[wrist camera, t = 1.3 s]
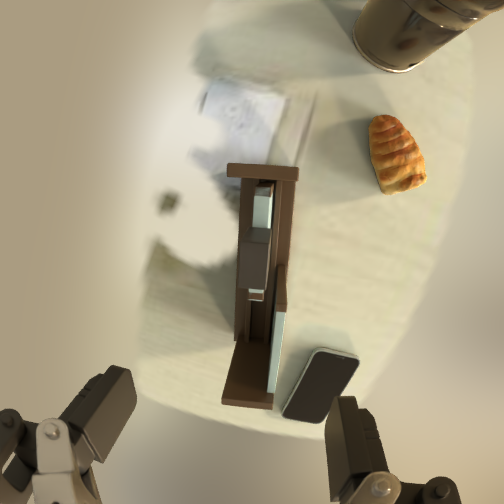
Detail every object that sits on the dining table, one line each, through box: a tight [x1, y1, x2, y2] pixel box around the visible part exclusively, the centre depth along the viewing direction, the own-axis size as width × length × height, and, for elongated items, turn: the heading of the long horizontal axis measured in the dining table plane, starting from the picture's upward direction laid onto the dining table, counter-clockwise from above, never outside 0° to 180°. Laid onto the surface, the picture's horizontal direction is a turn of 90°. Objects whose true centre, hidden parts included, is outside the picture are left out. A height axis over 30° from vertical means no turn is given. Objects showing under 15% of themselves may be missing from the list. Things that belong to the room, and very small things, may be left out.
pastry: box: [368, 115, 427, 195], centre depth 28 cm, size 9×7×4 cm
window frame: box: [221, 163, 299, 410], centre depth 29 cm, size 6×22×14 cm, turn 177°
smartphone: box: [282, 347, 360, 424], centre depth 39 cm, size 7×1×15 cm
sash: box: [238, 182, 274, 301], centre depth 25 cm, size 2×9×15 cm, turn 177°
